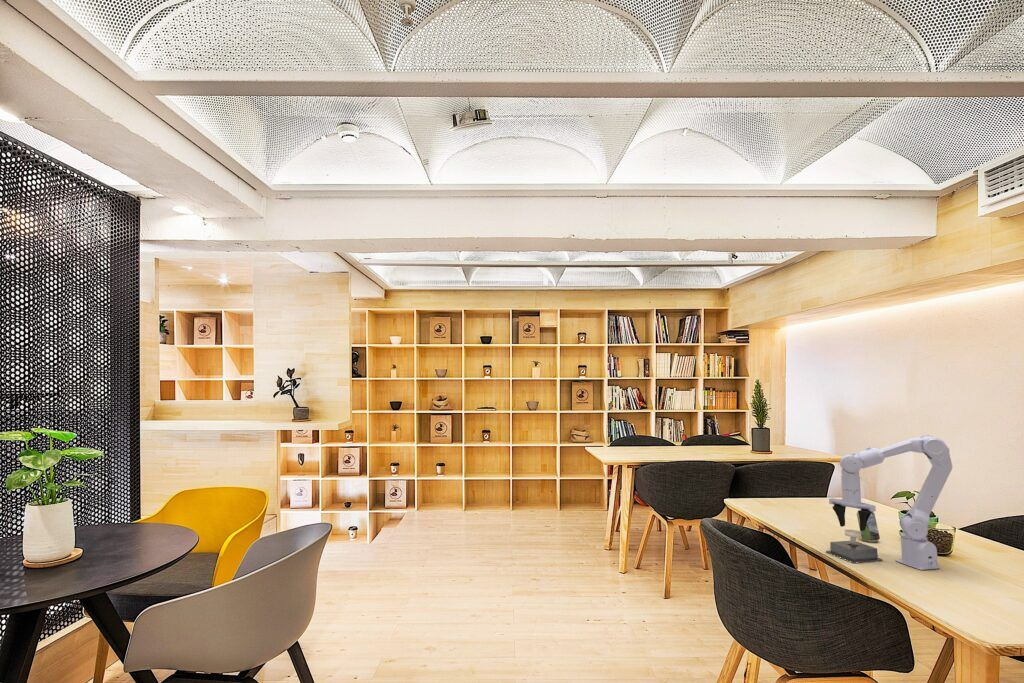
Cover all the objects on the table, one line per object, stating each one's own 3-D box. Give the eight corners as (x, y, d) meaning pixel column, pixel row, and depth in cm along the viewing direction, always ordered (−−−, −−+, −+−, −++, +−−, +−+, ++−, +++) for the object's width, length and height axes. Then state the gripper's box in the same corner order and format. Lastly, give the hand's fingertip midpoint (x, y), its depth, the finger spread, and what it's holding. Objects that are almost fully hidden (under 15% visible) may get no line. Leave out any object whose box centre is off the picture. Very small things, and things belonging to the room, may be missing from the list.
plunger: (865, 547, 190) (864, 532, 191) (853, 548, 189) (852, 533, 190) (853, 543, 195) (852, 529, 196) (841, 544, 194) (841, 529, 194)
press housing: (882, 561, 187) (882, 549, 188) (853, 563, 185) (853, 551, 185) (853, 550, 199) (853, 539, 199) (826, 552, 196) (825, 541, 197)
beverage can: (879, 544, 207) (878, 512, 207) (856, 540, 211) (855, 509, 212) (880, 540, 212) (879, 509, 212) (858, 537, 216) (857, 506, 217)
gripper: (878, 491, 190) (880, 531, 189) (835, 485, 202) (836, 522, 201) (869, 493, 186) (871, 534, 185) (825, 487, 198) (827, 524, 197)
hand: (852, 528), depth 193 cm, fingers open, 6 cm apart
